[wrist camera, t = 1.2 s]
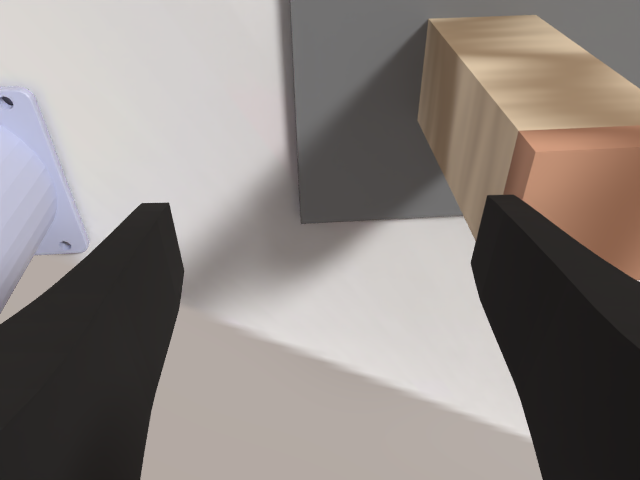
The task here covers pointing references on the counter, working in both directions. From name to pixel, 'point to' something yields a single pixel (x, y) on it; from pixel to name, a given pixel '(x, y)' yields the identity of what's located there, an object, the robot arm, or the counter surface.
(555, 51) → the long block
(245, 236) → the counter surface
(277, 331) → the counter surface
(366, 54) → the rubber mat
